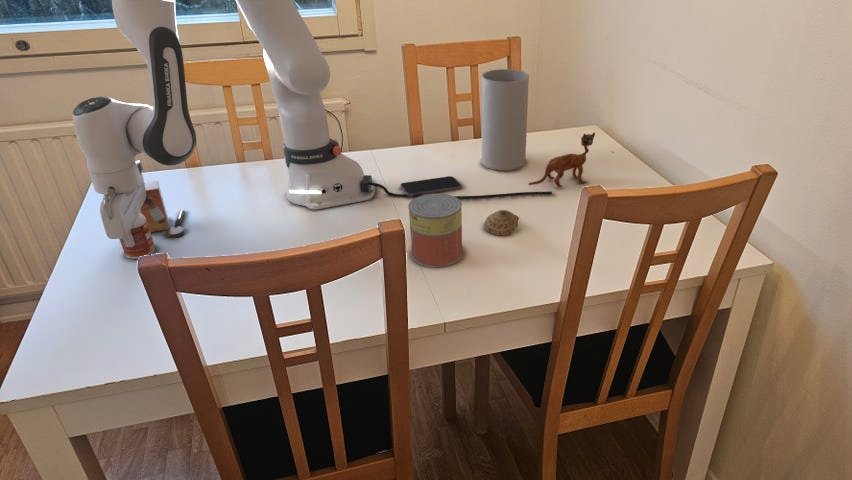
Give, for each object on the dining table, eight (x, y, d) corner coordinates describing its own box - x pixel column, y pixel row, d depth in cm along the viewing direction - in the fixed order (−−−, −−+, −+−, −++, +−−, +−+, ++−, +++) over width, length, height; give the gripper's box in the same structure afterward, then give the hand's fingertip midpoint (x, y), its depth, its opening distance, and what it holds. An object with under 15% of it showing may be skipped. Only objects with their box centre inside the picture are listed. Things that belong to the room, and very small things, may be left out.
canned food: (414, 240, 147) (411, 193, 141) (464, 241, 147) (463, 193, 141) (408, 266, 138) (404, 216, 131) (461, 267, 137) (460, 217, 131)
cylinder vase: (526, 172, 180) (530, 82, 167) (481, 171, 180) (481, 82, 167) (524, 154, 190) (527, 69, 177) (482, 154, 191) (482, 69, 177)
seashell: (524, 211, 155) (516, 213, 147) (520, 234, 156) (512, 237, 148) (491, 206, 157) (482, 208, 149) (488, 229, 158) (479, 232, 150)
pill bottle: (158, 254, 142) (144, 209, 136) (127, 263, 139) (112, 217, 133) (152, 243, 146) (138, 199, 141) (123, 250, 144) (107, 206, 138)
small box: (133, 236, 149) (119, 194, 144) (132, 225, 153) (119, 185, 148) (170, 229, 152) (158, 188, 146) (169, 219, 156) (157, 179, 151)
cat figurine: (533, 193, 168) (535, 143, 161) (523, 183, 173) (525, 134, 166) (594, 183, 173) (599, 135, 166) (583, 174, 178) (587, 126, 171)
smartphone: (462, 186, 170) (408, 194, 165) (462, 189, 171) (408, 198, 166) (452, 175, 176) (399, 183, 171) (452, 179, 177) (399, 187, 171)
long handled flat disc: (174, 213, 159) (173, 209, 158) (191, 211, 160) (190, 208, 159) (164, 238, 148) (163, 235, 148) (183, 237, 149) (182, 233, 148)
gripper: (120, 198, 125) (140, 259, 133) (142, 158, 142) (159, 214, 150) (85, 201, 124) (107, 262, 132) (111, 161, 141) (130, 217, 148)
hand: (135, 236), depth 141 cm, fingers closed on pill bottle, 6 cm apart
